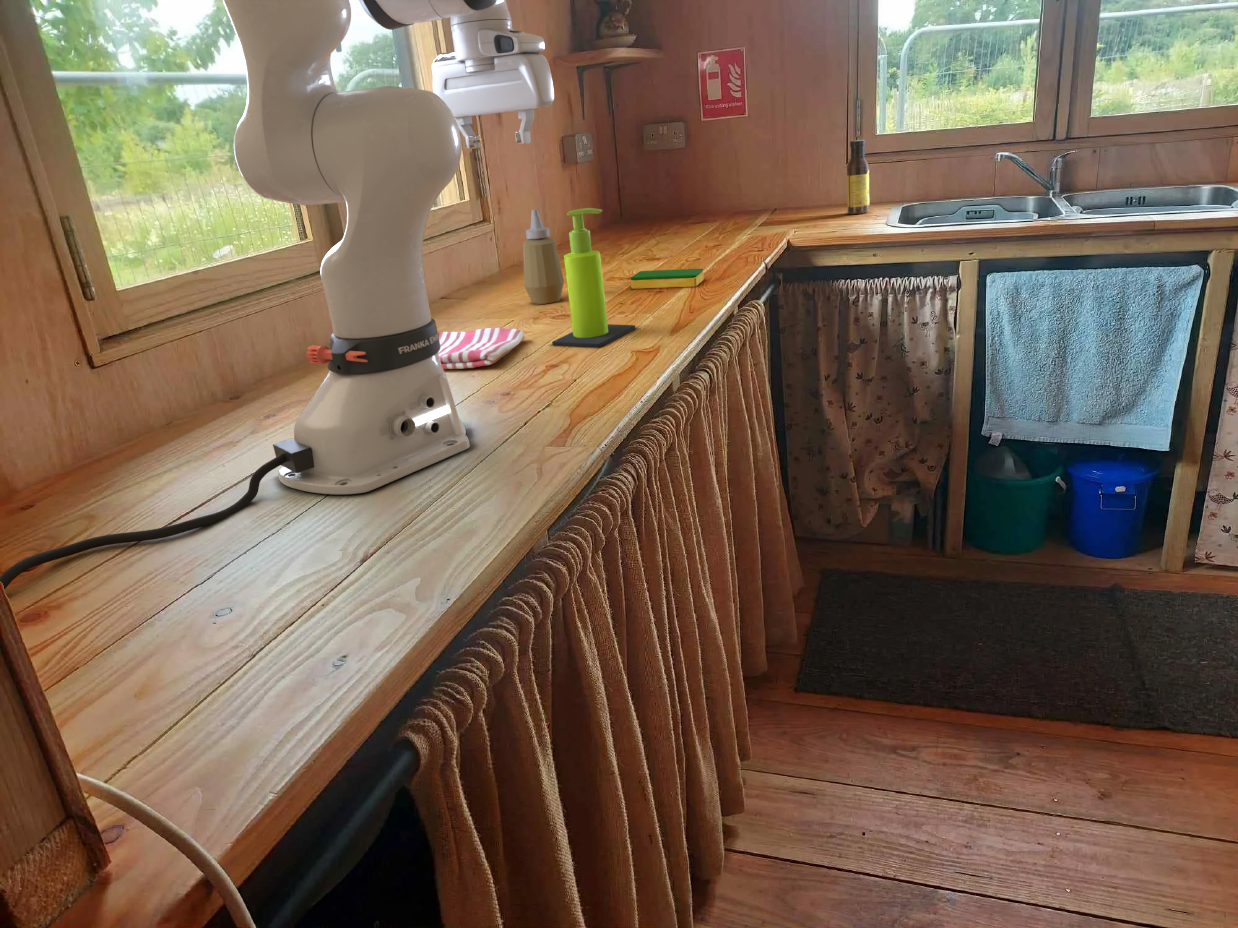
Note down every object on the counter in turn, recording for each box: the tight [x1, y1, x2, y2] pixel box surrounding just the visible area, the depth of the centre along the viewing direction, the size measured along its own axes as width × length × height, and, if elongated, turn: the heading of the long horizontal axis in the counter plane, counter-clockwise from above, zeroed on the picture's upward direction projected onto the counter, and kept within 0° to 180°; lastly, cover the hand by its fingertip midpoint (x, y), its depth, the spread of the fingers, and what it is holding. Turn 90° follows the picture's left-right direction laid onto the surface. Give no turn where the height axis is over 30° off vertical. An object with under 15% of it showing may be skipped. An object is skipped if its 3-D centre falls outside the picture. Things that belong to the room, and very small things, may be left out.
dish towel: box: [438, 327, 525, 370], centre depth 141 cm, size 17×23×4 cm
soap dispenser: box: [563, 207, 609, 338], centre depth 141 cm, size 6×7×20 cm
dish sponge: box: [630, 268, 705, 290], centre depth 180 cm, size 7×14×2 cm, turn 72°
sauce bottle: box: [846, 139, 871, 215], centre depth 249 cm, size 6×6×20 cm
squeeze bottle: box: [522, 209, 565, 305], centre depth 173 cm, size 8×8×18 cm
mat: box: [551, 323, 636, 348], centre depth 145 cm, size 12×9×1 cm
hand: (498, 146), depth 132 cm, fingers open, 8 cm apart
